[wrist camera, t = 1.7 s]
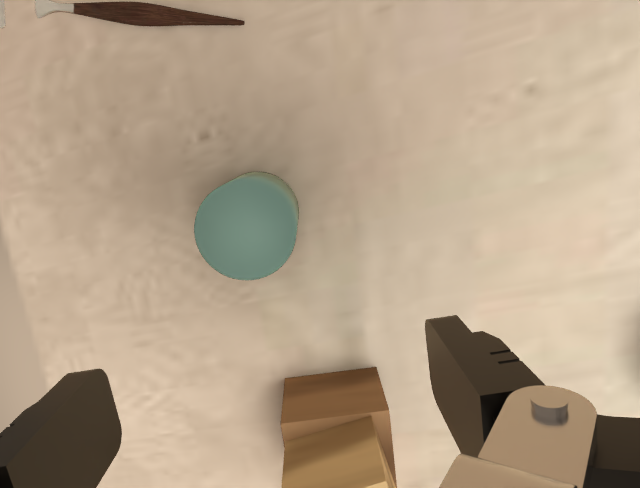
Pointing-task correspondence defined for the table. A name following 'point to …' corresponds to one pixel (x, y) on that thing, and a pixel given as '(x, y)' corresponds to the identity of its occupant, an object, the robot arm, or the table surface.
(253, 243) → the cylinder
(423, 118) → the table surface
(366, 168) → the table surface
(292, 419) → the base block
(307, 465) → the top block
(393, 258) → the table surface
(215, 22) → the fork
